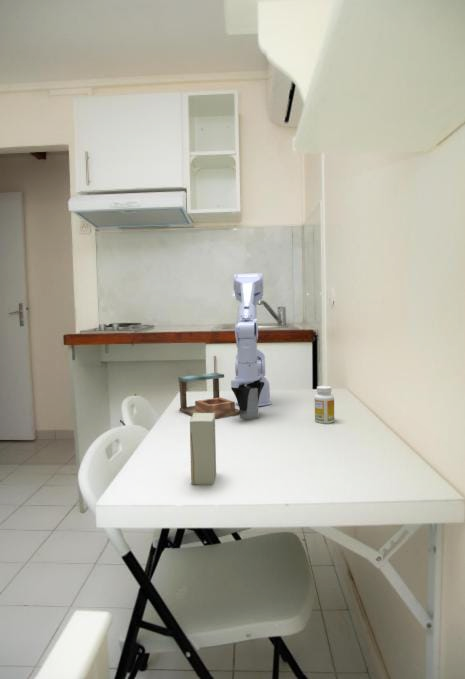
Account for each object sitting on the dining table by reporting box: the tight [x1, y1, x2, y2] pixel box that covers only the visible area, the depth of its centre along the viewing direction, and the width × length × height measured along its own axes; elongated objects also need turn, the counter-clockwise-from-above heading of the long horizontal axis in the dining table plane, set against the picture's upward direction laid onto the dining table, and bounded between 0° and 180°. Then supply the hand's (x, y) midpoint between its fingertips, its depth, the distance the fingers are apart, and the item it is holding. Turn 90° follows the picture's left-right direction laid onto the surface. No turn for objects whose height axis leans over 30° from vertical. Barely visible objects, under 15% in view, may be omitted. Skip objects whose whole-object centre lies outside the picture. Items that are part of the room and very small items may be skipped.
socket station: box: [178, 372, 240, 420], centre depth 137 cm, size 14×16×11 cm
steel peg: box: [239, 386, 259, 421], centre depth 129 cm, size 4×4×9 cm
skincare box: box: [189, 413, 217, 485], centre depth 83 cm, size 6×4×12 cm
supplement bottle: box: [314, 385, 335, 424], centre depth 123 cm, size 5×5×10 cm
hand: (248, 408), depth 129 cm, fingers closed on steel peg, 5 cm apart
